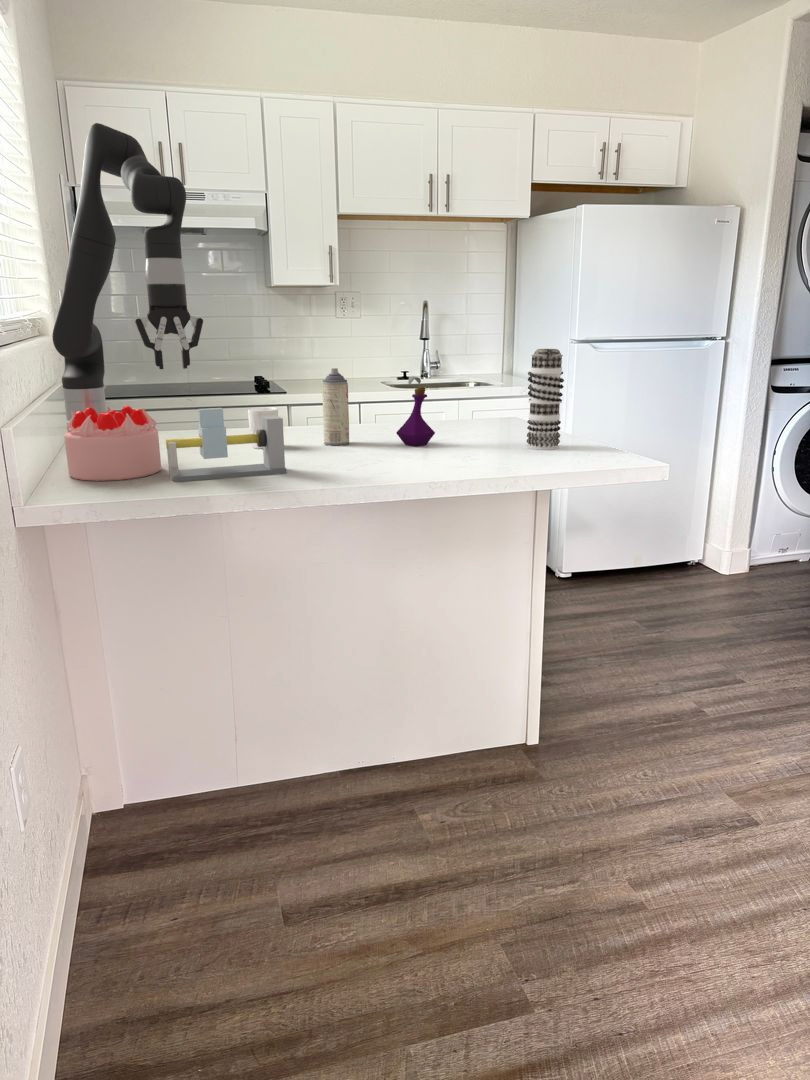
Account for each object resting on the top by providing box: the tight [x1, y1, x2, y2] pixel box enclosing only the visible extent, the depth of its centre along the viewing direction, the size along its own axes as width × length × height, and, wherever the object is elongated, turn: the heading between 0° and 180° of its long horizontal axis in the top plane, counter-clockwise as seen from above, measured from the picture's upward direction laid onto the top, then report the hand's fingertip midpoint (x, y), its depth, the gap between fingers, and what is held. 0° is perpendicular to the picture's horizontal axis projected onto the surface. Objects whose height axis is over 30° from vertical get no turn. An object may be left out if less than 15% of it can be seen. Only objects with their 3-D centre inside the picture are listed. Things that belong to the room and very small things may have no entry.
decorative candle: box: [526, 348, 565, 451], centre depth 203 cm, size 9×9×25 cm
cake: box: [63, 405, 162, 482], centre depth 176 cm, size 20×20×14 cm
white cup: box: [247, 406, 279, 450], centre depth 209 cm, size 8×8×10 cm
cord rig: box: [165, 415, 287, 483], centre depth 173 cm, size 25×8×12 cm, turn 112°
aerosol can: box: [321, 367, 350, 447], centre depth 211 cm, size 7×7×20 cm
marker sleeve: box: [197, 407, 229, 460], centre depth 172 cm, size 5×6×10 cm
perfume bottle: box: [396, 376, 436, 448], centre depth 209 cm, size 8×8×18 cm
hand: (173, 368), depth 165 cm, fingers open, 4 cm apart
